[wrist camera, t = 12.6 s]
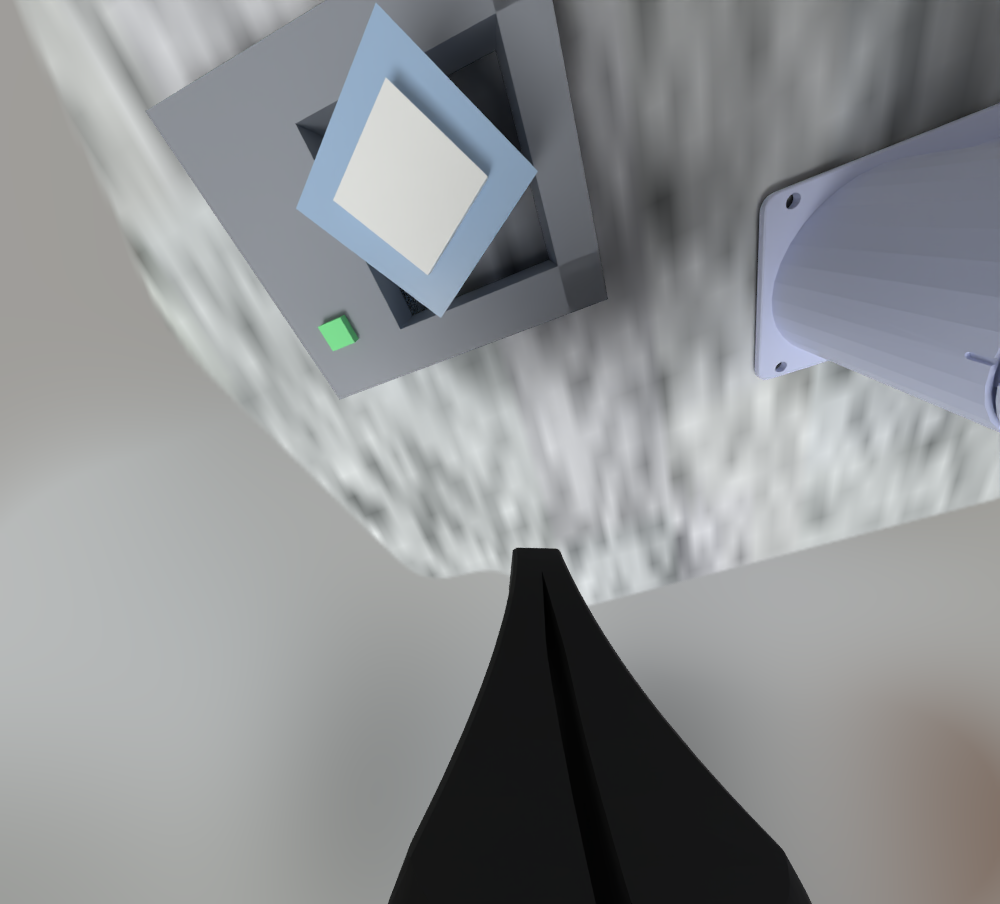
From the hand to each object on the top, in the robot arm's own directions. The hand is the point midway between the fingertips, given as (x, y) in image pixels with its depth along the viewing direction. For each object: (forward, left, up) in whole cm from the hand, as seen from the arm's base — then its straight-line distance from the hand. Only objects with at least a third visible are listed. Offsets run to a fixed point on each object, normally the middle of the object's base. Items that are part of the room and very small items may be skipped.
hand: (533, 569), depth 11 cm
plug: (0, -10, -10) cm, 14 cm away
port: (+1, -10, -10) cm, 14 cm away
